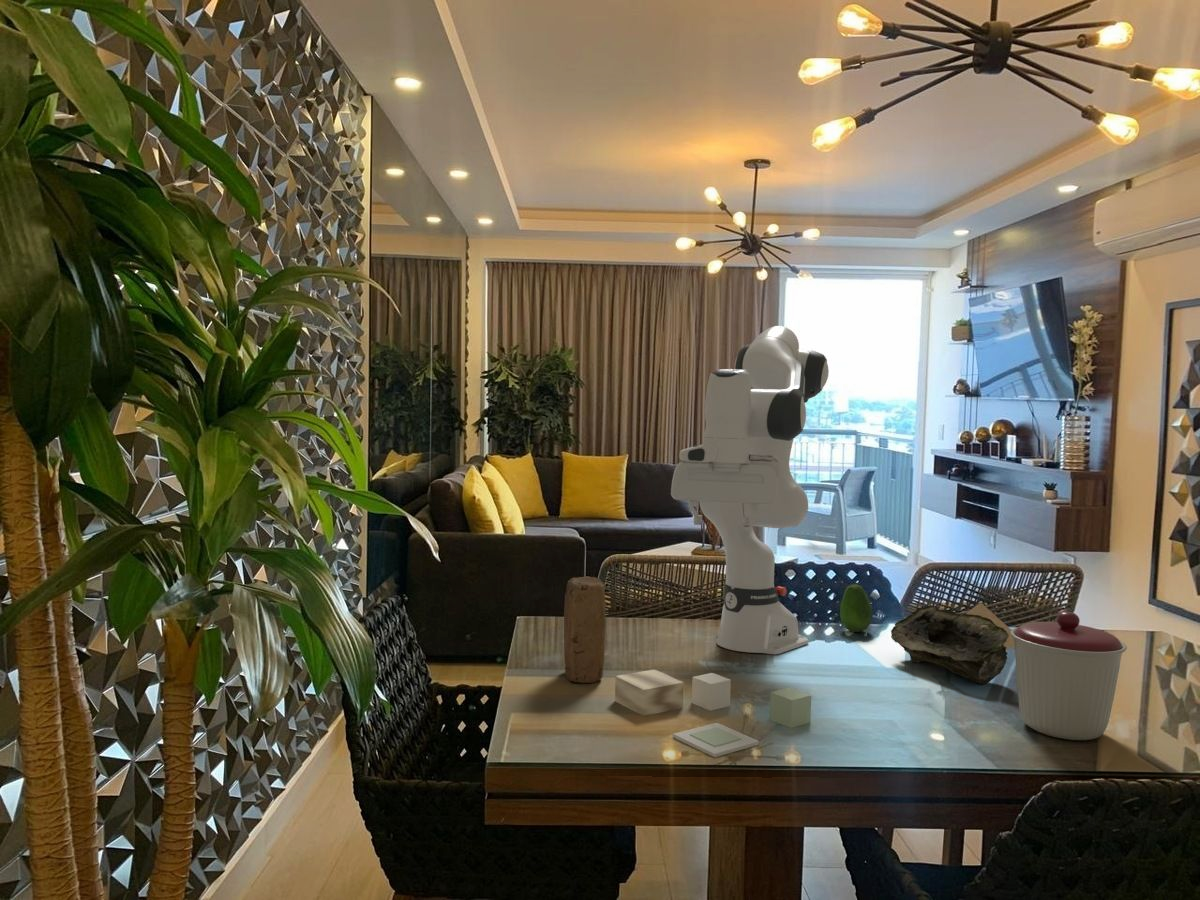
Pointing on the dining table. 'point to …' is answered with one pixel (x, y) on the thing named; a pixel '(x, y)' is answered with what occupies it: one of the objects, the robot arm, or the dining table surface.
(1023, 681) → the canister
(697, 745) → the card
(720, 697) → the offwhite cube
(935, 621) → the hollow geode rock
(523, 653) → the dining table surface
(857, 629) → the avocado
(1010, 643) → the model pyramid
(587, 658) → the block
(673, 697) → the base block
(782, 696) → the sage cube
